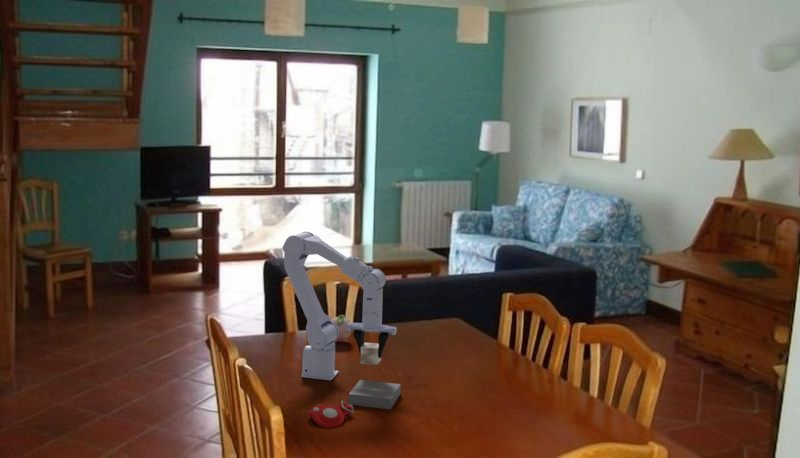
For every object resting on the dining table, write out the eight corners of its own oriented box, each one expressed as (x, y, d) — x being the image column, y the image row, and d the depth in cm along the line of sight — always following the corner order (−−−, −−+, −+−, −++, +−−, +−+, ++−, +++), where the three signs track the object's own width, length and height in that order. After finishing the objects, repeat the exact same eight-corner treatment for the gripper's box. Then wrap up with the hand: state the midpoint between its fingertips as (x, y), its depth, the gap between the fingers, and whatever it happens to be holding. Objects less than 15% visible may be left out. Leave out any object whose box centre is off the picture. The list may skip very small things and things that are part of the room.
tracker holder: (338, 427, 203) (303, 412, 206) (335, 440, 205) (301, 425, 207) (358, 401, 213) (325, 387, 216) (355, 414, 215) (323, 400, 218)
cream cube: (360, 363, 235) (360, 347, 234) (364, 358, 240) (365, 342, 239) (377, 365, 234) (377, 348, 233) (381, 359, 239) (381, 343, 238)
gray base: (348, 404, 221) (348, 393, 220) (360, 389, 232) (360, 379, 232) (390, 409, 218) (391, 398, 218) (400, 394, 230) (400, 384, 229)
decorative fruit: (327, 338, 281) (327, 310, 279) (350, 338, 282) (351, 310, 280) (327, 346, 272) (328, 317, 270) (351, 346, 273) (352, 317, 271)
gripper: (344, 312, 232) (343, 357, 234) (393, 316, 229) (391, 362, 231) (351, 306, 239) (350, 350, 241) (398, 310, 236) (397, 355, 238)
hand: (370, 355), depth 237 cm, fingers closed on cream cube, 5 cm apart
